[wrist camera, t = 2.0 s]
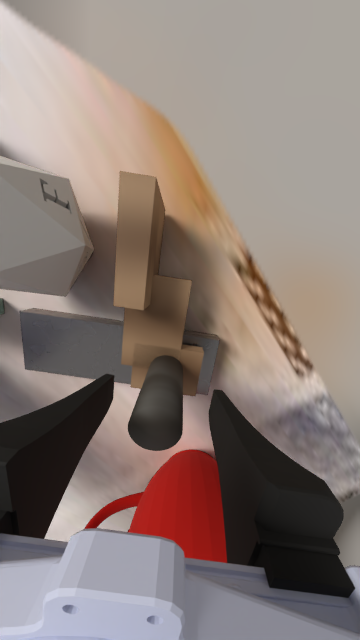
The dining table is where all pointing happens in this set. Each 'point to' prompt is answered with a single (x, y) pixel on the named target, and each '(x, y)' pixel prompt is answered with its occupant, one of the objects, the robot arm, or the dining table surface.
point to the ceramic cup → (179, 506)
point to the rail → (92, 346)
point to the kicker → (152, 317)
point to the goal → (1, 306)
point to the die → (39, 231)
